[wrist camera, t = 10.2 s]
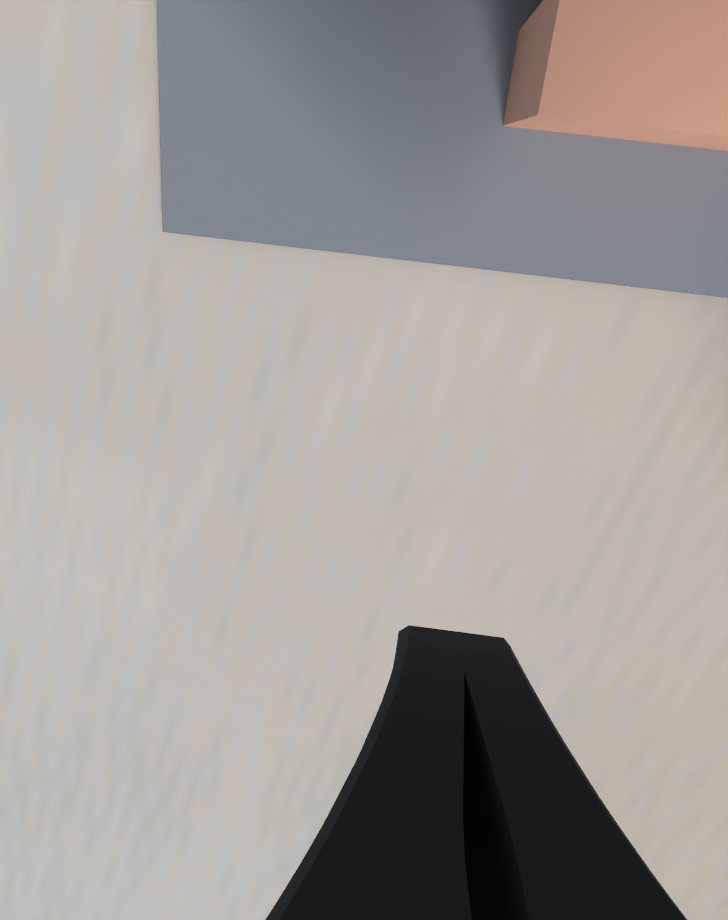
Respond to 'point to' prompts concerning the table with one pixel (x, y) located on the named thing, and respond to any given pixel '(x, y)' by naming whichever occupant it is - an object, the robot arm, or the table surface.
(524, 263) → the felt mat
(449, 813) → the robot arm
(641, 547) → the table surface
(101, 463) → the table surface
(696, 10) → the salmon orange block
